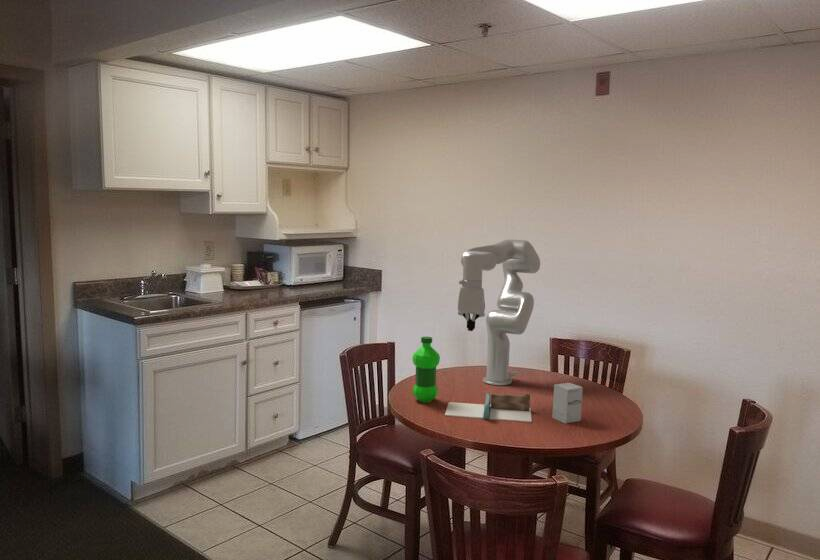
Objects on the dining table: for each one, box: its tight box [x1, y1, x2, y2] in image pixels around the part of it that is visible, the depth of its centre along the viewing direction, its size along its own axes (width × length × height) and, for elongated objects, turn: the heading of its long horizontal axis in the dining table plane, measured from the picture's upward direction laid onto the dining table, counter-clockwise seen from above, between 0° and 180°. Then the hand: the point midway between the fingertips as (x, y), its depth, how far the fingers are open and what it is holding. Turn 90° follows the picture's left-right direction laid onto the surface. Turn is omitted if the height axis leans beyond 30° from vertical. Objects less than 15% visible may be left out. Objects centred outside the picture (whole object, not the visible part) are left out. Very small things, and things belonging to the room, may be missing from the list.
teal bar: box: [483, 392, 491, 418], centre depth 225 cm, size 15×2×5 cm, turn 170°
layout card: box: [444, 401, 533, 423], centre depth 227 cm, size 31×16×1 cm, turn 80°
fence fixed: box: [490, 393, 531, 411], centre depth 230 cm, size 14×2×6 cm, turn 80°
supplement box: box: [551, 382, 584, 424], centre depth 221 cm, size 7×7×13 cm
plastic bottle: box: [412, 336, 441, 403], centre depth 239 cm, size 10×10×25 cm
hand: (470, 330), depth 243 cm, fingers closed
